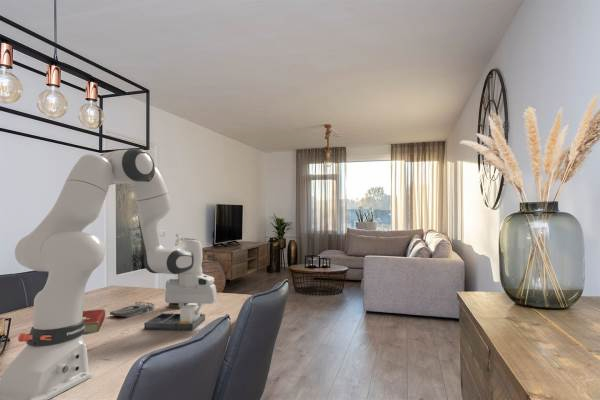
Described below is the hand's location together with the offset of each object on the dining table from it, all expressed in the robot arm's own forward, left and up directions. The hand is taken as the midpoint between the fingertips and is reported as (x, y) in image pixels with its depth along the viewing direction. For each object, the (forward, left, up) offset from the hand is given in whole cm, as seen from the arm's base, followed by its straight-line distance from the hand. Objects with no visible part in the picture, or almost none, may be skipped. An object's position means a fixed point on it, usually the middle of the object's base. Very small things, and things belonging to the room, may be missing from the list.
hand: (190, 314), depth 138 cm
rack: (0, +6, -4) cm, 7 cm away
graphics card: (+15, +34, -5) cm, 38 cm away
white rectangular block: (0, 0, -2) cm, 2 cm away
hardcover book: (-3, +42, -5) cm, 43 cm away
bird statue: (+31, +15, -4) cm, 35 cm away
